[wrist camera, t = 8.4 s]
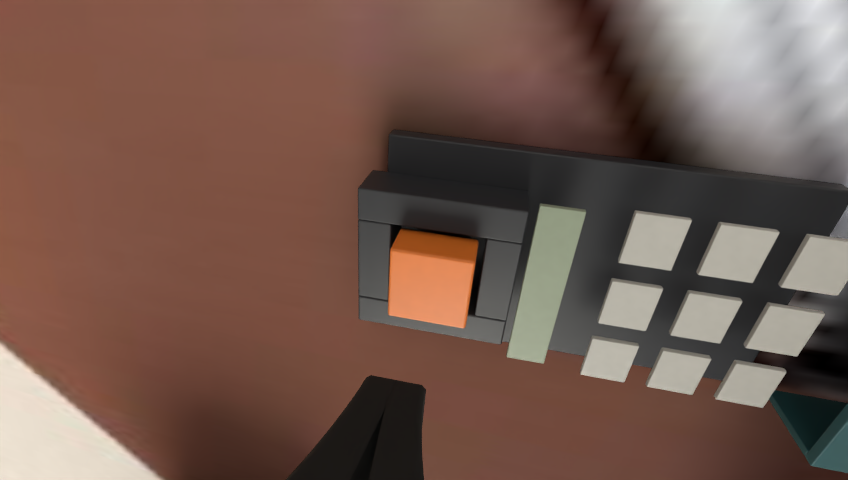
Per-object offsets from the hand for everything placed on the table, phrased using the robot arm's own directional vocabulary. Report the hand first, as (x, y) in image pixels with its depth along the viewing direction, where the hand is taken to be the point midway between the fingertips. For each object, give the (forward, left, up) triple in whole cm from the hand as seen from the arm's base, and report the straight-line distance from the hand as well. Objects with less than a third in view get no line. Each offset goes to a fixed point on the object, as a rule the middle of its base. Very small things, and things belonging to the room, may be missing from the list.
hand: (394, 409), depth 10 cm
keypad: (0, -8, -6) cm, 10 cm away
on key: (0, 0, -7) cm, 7 cm away
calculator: (0, -5, -9) cm, 10 cm away
